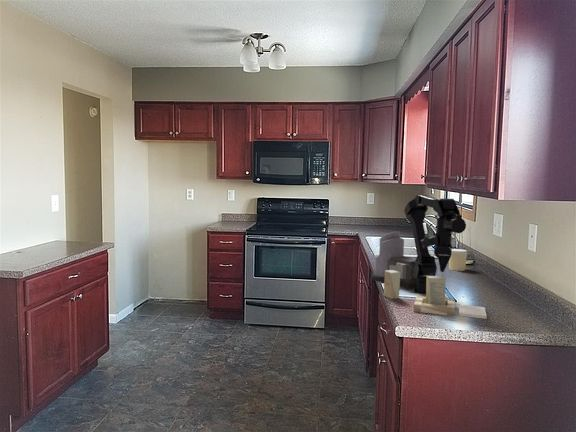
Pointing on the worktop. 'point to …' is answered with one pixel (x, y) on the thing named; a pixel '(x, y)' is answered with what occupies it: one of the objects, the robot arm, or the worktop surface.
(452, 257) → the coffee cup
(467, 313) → the tile
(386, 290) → the box
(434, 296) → the skincare box
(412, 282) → the juicer
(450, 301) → the frame
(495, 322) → the worktop surface
